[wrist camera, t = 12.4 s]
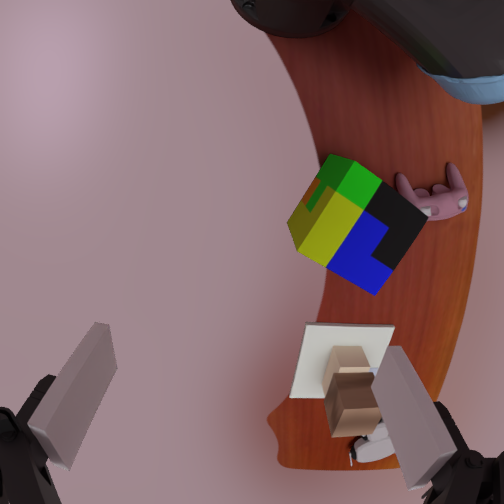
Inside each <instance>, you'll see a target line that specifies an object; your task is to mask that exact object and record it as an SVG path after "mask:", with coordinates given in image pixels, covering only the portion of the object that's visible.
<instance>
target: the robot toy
mask: <svg viewBox="0 0 504 504" xmlns="http://www.w3.org/2000/svg"><path fill="white" fill-rule="evenodd" d="M361 437H362V438H360V439H358V440H357V441H356V442H355V444H354V446H352V448H351V450H350V452H349V456H350V461H351V457H352V458H353V459H356V460H357V461H358V462H371V461H375V460H379V459H382V458H384V457H387V456H389V455H391V454H393V453H395V450H394V447H393V444H392V442H391V439H390V436H389V433H388V431H387V428H386V425H385V423H384V420H383V417H381V419H380V421H379V423H378V425H377V426H376V428H375V430H374V432H373V434H369V435H361ZM351 466H352V461H351Z"/></svg>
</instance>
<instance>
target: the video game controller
mask: <svg viewBox="0 0 504 504" xmlns="http://www.w3.org/2000/svg"><path fill="white" fill-rule="evenodd" d="M446 172H447V178H448V182H449V186H450V189H449V188H447V187H445V186H444V185H441V184H437V185H434V186H433V190H432V196H430V195H429V193H428V191H427V190H425V189H416V190H414V191H413V190H412V188H411V186H410V184H409V182H408V180H407V178H406V177H405V176H404V175H403V174H401V173H398V174H397V176H396V186H397V189H398V193H399V194H401V195H402V196H403V197H404V198H406V199H407V200H408V201H409V202H411V203H412V204H413V205H414V206H416V207H417V208H418V209H419V210H421V211H422V212H423V213H424V214H425V215H427V216H428V217H429V218H428V220H442V219H447V218H450V217H453V216H455V215H457V214H459V213H462V212H464V211H465V210H466V209H467V205H468V192H467V189H466V187H465V184H464V182H463V179H462V177H461V175H460V172H459V170H458V169H457V167H456V166H455V165H454V164H452V163H448V165H447V169H446ZM428 220H427V221H428Z"/></svg>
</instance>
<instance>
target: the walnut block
mask: <svg viewBox="0 0 504 504" xmlns="http://www.w3.org/2000/svg"><path fill="white" fill-rule="evenodd" d="M374 378H375V376H374V374H373V372H360V373H333V376H332V379H331V382H330V385H329V388H328V391H327V394H326V397H325V400H324V404H325V409H326V413H327V418H328V423H329V427H330V432H331V436H332V437H346V436H359V435H369V434H373V432H374V430H375V428H376V426H377V425H378V423H379V421H380V419H381V417H382V415H381V412H380V409H379V407H378V404H377V402H376V399H375V396H374V394H373V391H372V389H371V385H372V383H373V381H374Z"/></svg>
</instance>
